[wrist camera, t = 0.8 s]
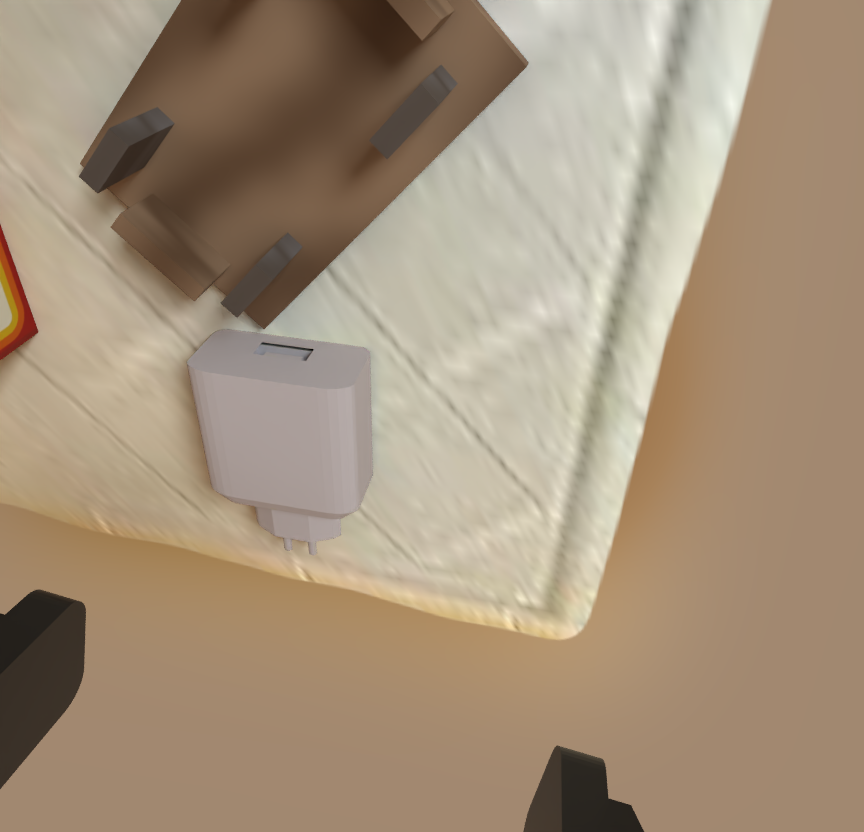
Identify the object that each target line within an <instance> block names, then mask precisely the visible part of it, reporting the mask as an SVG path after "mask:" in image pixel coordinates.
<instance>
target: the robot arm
mask: <svg viewBox="0 0 864 832" xmlns="http://www.w3.org/2000/svg"><path fill="white" fill-rule="evenodd" d="M85 618H86V609H85V605H84V604H83V603H82V602H80V601H76V600H73V599H70V598H66V597H63V596H59V595H57V594H53V593H50V592H46V591H43V590H35V591H33V592H31V593H30V594H28V595H27V596H26V597H24V598H23V599H22V600H21V601H20V602H19V603H18V604H17V605H16V606H14V607H13V608H12V609H11V610H10V611H9V612H8V613H7V614H5V615H4V614H0V789H1V788H2V786H3V785H4V784H5V783H6V782H7V780H8V779H9V778H10V777H11V776H12V774H13V773H14V772H15V771H16V770H17V768H18V767H19V766H20V765H21V764H22V762H23V761H24V760H25V759H26V758H27V756H28V755H29V754H30V753H31V752H32V750H33V749H34V748H35V747H36V746H37V744H38V743H39V742H40V741H41V740H42V738H43V737H44V736H45V735H46V734H47V732H48V731H49V730H50V729H51V728H52V726H53V725H54V724H55V723H56V722H57V720H58V719H59V718H60V717H61V716H62V714H63V713H64V712H65V711H66V709H67V708H68V707H69V705H70V704H71V702H72V701H73V699H74V697H75V695H76V693H77V691H78V689H79V686H80V684H81V681H82V677H83V672H84V653H85V620H86V619H85ZM524 832H644V831H643V829H642V827H641V825H640V823H639V821H638V819H637V816H636V814H635V812H634V811H633V808H632V806H631V805H628V804H625V803H622V802H618V801H615V800H612V799H608V789H607V776H606V767H605V763H604V760H603V759H601V758H597V757H594V756H591V755H587V754H584V753H581V752H577V751H574V750H571V749H567V748H563V747H560V746H556V747H555V748H554V750H553V752H552V754H551V757H550V759H549V762H548V764H547V766H546V769H545V772H544V774H543V776H542V779H541V781H540V784H539V786H538V789H537V791H536V793H535V796H534V798H533V801H532V803H531V805H530V808H529V811H528V814H527V818H526V822H525V828H524Z"/></svg>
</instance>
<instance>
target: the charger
mask: <svg viewBox="0 0 864 832" xmlns="http://www.w3.org/2000/svg"><path fill="white" fill-rule="evenodd" d="M262 342H265V343H272V344H280V345H287V346H295V347H302V348H309V349H314V350H313V351H306V350H299V349H292V348H284V347H277V346H269V345H262V344H261V343H262ZM187 366H188V371H189V376H190V381H191V386H192V391H193V396H194V401H195V406H196V411H197V416H198V421H199V426H200V431H201V436H202V441H203V446H204V451H205V456H206V461H207V466H208V471H209V476H210V481H211V486H212V488H213V489H214V490H215V491H216V492H218V493H220V494H221V495H223V496H224V497H226V498H227V499H229V500H230V501H232V502H235V503H239V504H244V505H250V506H255V510H256V516H257V521H258V523H259V525H260V526H261V527H262V528H264V529H265V530H267V531H268V532H270V533H271V534H273V535H274V536H277V537H283V540H284V548H285V550H287V551H290V550H292V541H291V539H294V540H300V541H306V542H308V546H309V553H310V554H311V555H315V554H317V547H316V541H322V540H328V539H334V538H336V537H338V536H340V535H341V524H340V519H341V518H344V517H345V516H347V515H349V514H351V513H353V512H355V511H356V510H357V509H358V508H359V507H360V505H361V502H362V500H363V497H364V495H365V493H366V490H367V488H368V486H369V483H370V481H371V478H372V476H373V457H372V415H371V372H370V351H369V350H367V349H366V348H364V347H358V346H351V345H344V344H337V343H329V342H321V341H314V340H306V339H299V338H291V337H284V336H276V335H268V334H261V333H253V332H246V331H238V330H229V329H226V330H220V331H216V332H214V333H213V334H212V335H211V336H210V337H209V338H208V339H207V340H206V341H205V342H204V343H203V345H202V346H201V347H200V348H199V349H198V350H197V351H196V352H195V353H194V354H193V355H192V356H191V357H190V358H189V359H188V361H187Z"/></svg>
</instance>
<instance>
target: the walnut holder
mask: <svg viewBox="0 0 864 832" xmlns="http://www.w3.org/2000/svg"><path fill="white" fill-rule="evenodd" d="M527 65H528V61H527V60H526V59H525V58H524V56H523V55H522V54H521V53H520V52H519V50H518V49H517V48H516V47H515V46H514V44H513V43H512V42H511V41H510V40H509V38H508V37H507V36H506V35H505V33H504V32H503V31H502V30H501V29H500V27H499V26H498V25H497V24H496V23H495V21H494V20H493V19H492V18H491V17H490V15H489V14H488V13H487V12H486V10H485V9H484V8H483V7H482V6H481V4H480V3H479V2H478V1H477V0H181V2H180V3H179V5H178V7H177V8H176V10H175V11H174V13H173V15H172V16H171V18H170V19H169V21H168V23H167V24H166V26H165V28H164V29H163V31H162V32H161V34H160V36H159V37H158V39H157V40H156V42H155V44H154V45H153V47H152V48H151V50H150V52H149V53H148V55H147V56H146V58H145V60H144V61H143V63H142V64H141V66H140V68H139V69H138V71H137V73H136V74H135V76H134V77H133V79H132V81H131V82H130V84H129V85H128V87H127V89H126V90H125V92H124V93H123V95H122V97H121V98H120V100H119V101H118V103H117V105H116V106H115V108H114V109H113V111H112V113H111V114H110V116H109V118H108V119H107V121H106V122H105V124H104V126H103V127H102V129H101V130H100V132H99V134H98V135H97V137H96V138H95V140H94V142H93V143H92V145H91V146H90V148H89V150H88V151H87V153H86V154H85V156H84V158H83V159H82V161H81V163H80V164H81V165H82V166H83V167H84V169H83V170H82V172H81V174H80V175H79V177H80V178H81V179H82V180H83V181H84V182H86V183H87V184H88V185H89V186H90V187H91V188H92V189H93V190H95V191H96V192H97V193H99V192H101V191H103V190H104V189H106V188H107V189H109V190H110V191H111V192H112V193H113V194H114V195H115V196H116V197H117V198H119V199H120V200H121V201H122V202H123V203H124V204H125V205H126V206H128V207H129V209H127V210H125V211H124V212H122V213H121V214H120V215H119V216H118V218H117V219H116V220H115V222H114V223H113V225H112V226H111V228H112V229H113V230H114V231H115V232H116V233H118V234H119V235H120V236H121V237H122V238H123V239H124V240H125V241H127V242H128V243H129V244H130V245H131V246H132V247H133V248H135V249H136V250H137V251H138V252H139V253H140V254H141V255H143V256H144V257H145V258H146V259H147V260H148V261H149V262H150V263H152V264H153V265H154V266H155V267H156V268H157V269H158V270H160V271H161V272H162V273H163V274H164V275H165V276H166V277H167V278H169V279H170V280H171V281H172V282H173V283H174V284H175V285H177V286H178V287H179V288H180V289H181V290H182V291H183V292H184V293H186V294H187V295H188V296H189V297H190V298H191V299H192V300H194V301H195V300H196V299H197V298H198V297H199V296H200V295H201V294H202V293H203V292H205V291H206V290H207V289H208V288H209V287H210V286H211V285H212V284H214V285H215V286H216V287H218V288H219V289H220V290H221V291H222V292H223V293H224V294H225V295H226V296H227V297H226V298H225V299H224V300H223V301H222V302H221V304H222V305H223V306H224V307H226V308H227V309H228V310H229V311H230V312H231V313H232V314H233V315H235V316H236V317H238V316H239V315H240V314H241V313H242V312H243V311H244V312H245V313H246V314H248V315H249V316H250V317H251V318H252V319H253V320H254V321H255V322H256V323H258V324H259V325H260V326H261V327H262V328H263V329H265V328H266V327H267V326H268V325H269V324H270V323H271V322H272V321H273V320H274V319H275V318H276V317H277V316H278V315H279V314H280V313H281V312H282V311H283V310H284V309H285V308H286V307H287V306H288V305H289V304H290V303H291V302H292V301H293V300H294V299H295V298H296V297H297V296H298V295H299V294H300V293H301V292H302V291H303V290H304V289H305V288H306V287H307V286H308V285H309V284H310V283H311V282H312V281H313V280H314V279H315V278H316V277H317V276H318V275H319V274H320V273H321V272H322V271H323V270H324V269H325V268H326V267H327V266H328V265H329V264H330V263H331V262H332V261H333V260H334V259H335V258H336V257H337V256H338V255H339V254H340V253H341V252H342V251H343V250H344V249H345V248H346V247H347V246H348V245H349V244H350V243H351V242H352V241H353V240H354V239H355V238H356V237H357V236H358V235H359V234H360V233H361V232H362V231H363V230H364V229H365V228H366V227H367V226H368V225H369V224H370V223H371V222H372V221H373V220H374V219H375V218H376V217H377V216H378V215H379V214H380V213H381V212H382V211H383V210H384V209H385V208H386V207H387V206H388V205H389V204H390V203H391V202H392V201H393V200H394V199H395V198H396V197H397V196H398V195H399V194H400V193H401V192H402V191H403V190H404V189H405V188H406V187H407V186H408V185H409V184H410V183H411V182H412V181H413V180H414V179H415V178H416V177H417V176H418V175H419V174H420V173H421V172H422V171H423V170H424V169H425V168H426V167H427V166H428V165H429V164H430V163H431V162H432V161H433V160H434V159H435V158H436V157H437V156H438V155H439V154H440V153H441V152H442V151H443V150H444V149H445V148H446V147H447V146H448V145H449V144H450V143H451V142H452V141H453V140H454V139H455V138H456V137H457V136H458V135H459V134H460V133H461V132H462V131H463V130H464V129H465V128H466V127H467V126H468V125H469V124H470V123H471V122H472V121H473V120H474V119H475V118H476V117H477V116H478V115H479V114H480V113H481V112H482V111H483V110H484V109H485V108H486V107H487V106H488V105H489V104H490V103H491V102H492V101H493V100H494V99H495V98H496V97H497V96H498V95H499V94H500V93H501V92H502V91H503V90H504V89H505V88H506V87H507V86H508V85H509V84H510V83H511V82H512V81H513V80H514V79H515V78H516V77H517V76H518V75H519V74H520V73H521V72H522V71H523V70H524V69H525V68H526V67H527Z"/></svg>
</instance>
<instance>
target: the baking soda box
mask: <svg viewBox="0 0 864 832" xmlns="http://www.w3.org/2000/svg"><path fill="white" fill-rule="evenodd" d="M36 333H38V329H37V327H36V324H35V321H34V318H33V315H32V312H31V310H30V307H29V304H28V301H27V298H26V296H25V293H24V290H23V287H22V284H21V282H20V279H19V276H18V273H17V270H16V267H15V265H14V262H13V259H12V256H11V253H10V251H9V248H8V245H7V242H6V239H5V236H4V234H3V231H2V228H1V225H0V360H1V359H3V358H4V357H5V356H7V355H8V354H9V353H11V352H12V351H13V350H15V349H16V348H18V347H19V346H20V345H22V344H23V343H24V342H26V341H27V340H28V339H30V338H31V337H32V336H34V335H35V334H36Z"/></svg>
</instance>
